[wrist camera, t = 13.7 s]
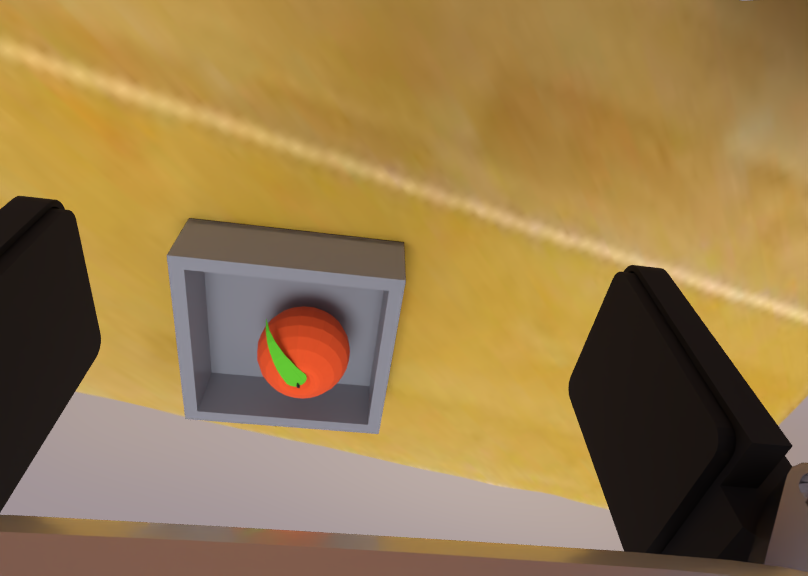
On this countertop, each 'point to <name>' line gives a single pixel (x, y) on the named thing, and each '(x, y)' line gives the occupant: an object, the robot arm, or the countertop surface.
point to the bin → (269, 296)
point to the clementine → (303, 352)
